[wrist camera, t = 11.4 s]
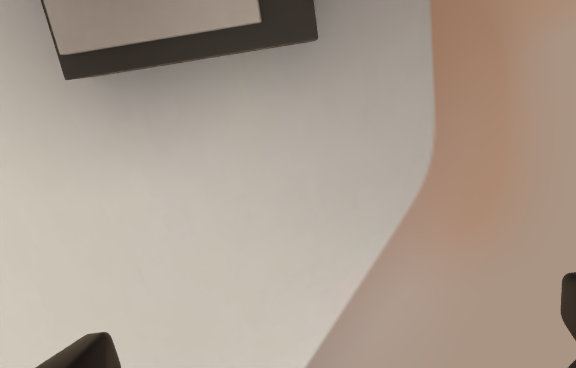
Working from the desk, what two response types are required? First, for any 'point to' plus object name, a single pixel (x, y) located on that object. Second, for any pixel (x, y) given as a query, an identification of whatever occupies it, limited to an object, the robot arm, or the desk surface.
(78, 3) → the scale
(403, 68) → the desk surface
